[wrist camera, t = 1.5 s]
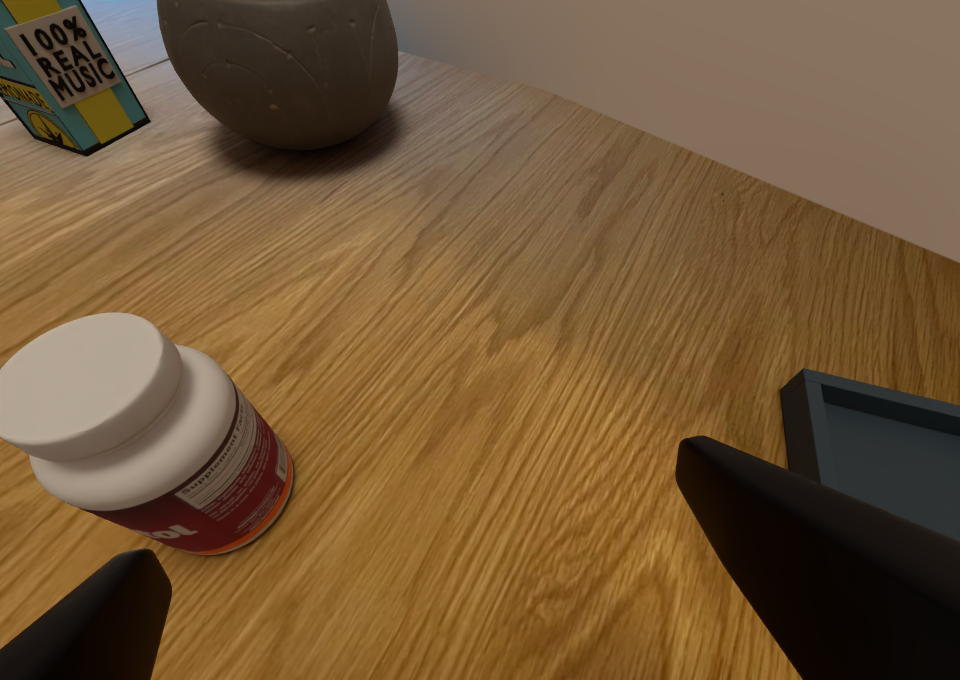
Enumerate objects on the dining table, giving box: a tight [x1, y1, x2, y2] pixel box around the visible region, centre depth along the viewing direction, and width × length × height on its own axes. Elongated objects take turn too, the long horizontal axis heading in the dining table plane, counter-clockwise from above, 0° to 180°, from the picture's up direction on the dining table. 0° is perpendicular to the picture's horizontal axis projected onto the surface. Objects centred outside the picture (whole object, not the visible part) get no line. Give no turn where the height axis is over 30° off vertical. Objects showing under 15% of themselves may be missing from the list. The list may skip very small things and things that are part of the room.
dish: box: [781, 368, 960, 542], centre depth 20 cm, size 14×11×2 cm
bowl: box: [157, 0, 398, 150], centre depth 38 cm, size 18×18×13 cm
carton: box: [0, 0, 151, 156], centre depth 35 cm, size 7×8×18 cm
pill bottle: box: [0, 313, 293, 555], centre depth 18 cm, size 6×6×11 cm
